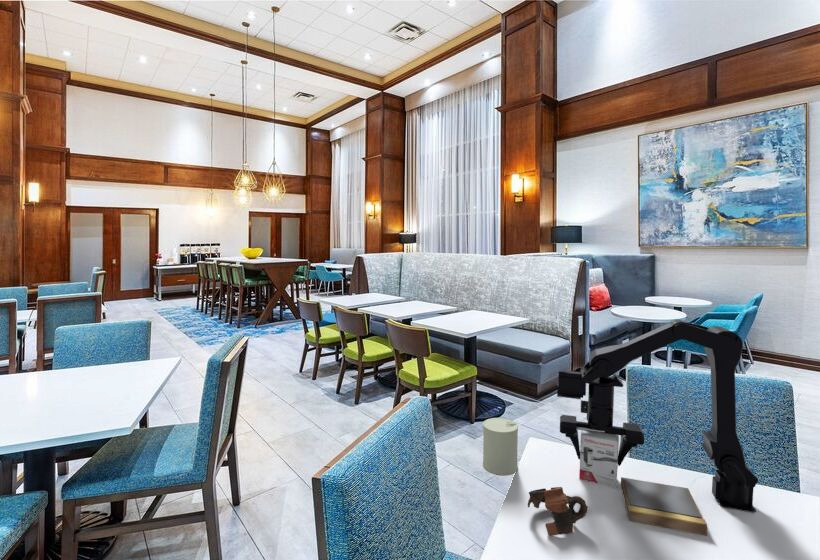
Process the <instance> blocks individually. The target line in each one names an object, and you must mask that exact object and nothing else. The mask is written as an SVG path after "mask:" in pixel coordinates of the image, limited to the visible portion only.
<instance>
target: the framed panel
mask: <svg viewBox="0 0 820 560" xmlns="http://www.w3.org/2000/svg"><path fill="white" fill-rule="evenodd" d="M620 487H621V491H622V495H623V502H624V505H625V509H626V513H627V518H628V519H627V520H628V521H630V522H635V523H640V524H645V525H651V526H656V527H661V528H666V529H671V530H676V531H681V532H687V533H692V534H697V535H701V536H707V535H708V524H707V522H706V519H704V517H703V515H702V513H701V511H700V509H699V506H698V505H697V503H696V501H695V499H694V497H693V495H692V493H691V491H690V489H689V487H684V486H683V487H682V486H678V485H677V486H675V485H671V484H665V483H660V482H659V483H658V482H653V481H647V480H642V479H641V480H640V479H635V478H627V477H620Z"/></svg>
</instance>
